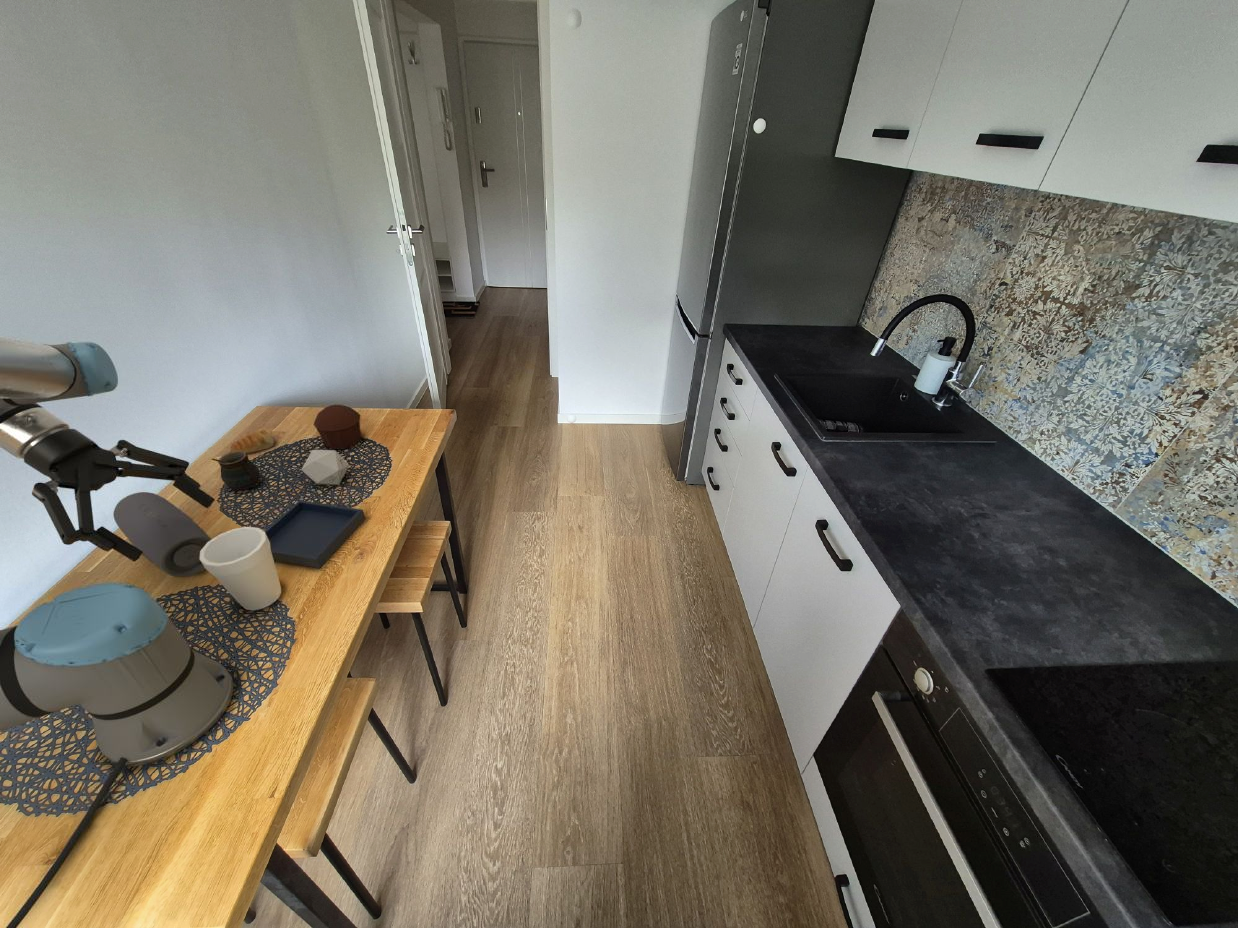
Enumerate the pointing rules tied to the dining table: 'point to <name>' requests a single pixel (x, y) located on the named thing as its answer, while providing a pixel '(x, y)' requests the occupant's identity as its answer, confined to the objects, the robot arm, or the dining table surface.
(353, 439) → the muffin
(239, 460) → the dark brown pitcher
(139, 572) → the dining table surface
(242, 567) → the foam cup
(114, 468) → the robot arm
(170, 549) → the bluetooth speaker
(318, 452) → the die
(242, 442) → the pastry
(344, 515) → the tray
